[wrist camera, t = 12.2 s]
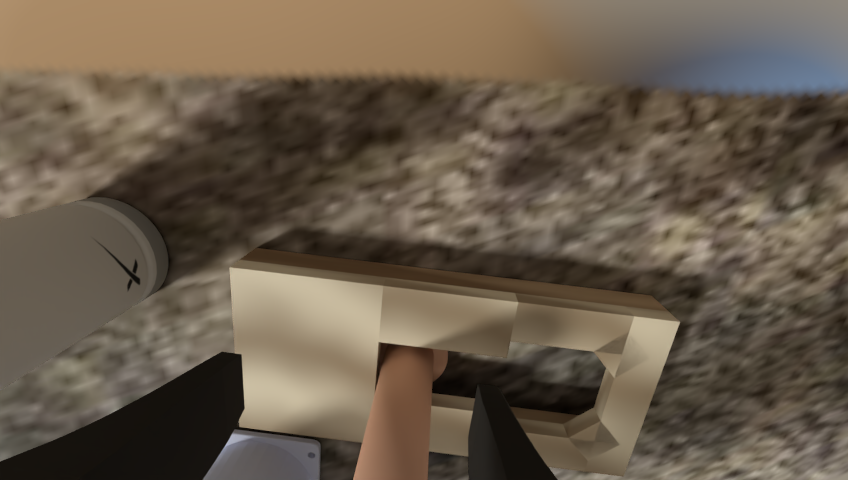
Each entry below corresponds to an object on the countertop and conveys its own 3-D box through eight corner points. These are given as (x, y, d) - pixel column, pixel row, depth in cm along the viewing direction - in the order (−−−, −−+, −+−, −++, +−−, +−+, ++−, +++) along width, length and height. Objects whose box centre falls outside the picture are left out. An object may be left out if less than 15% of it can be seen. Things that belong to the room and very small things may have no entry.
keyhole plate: (604, 436, 25) (623, 476, 22) (261, 393, 25) (239, 426, 22) (651, 295, 21) (680, 321, 19) (256, 247, 22) (229, 267, 19)
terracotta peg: (443, 380, 24) (441, 558, 14) (372, 372, 24) (324, 543, 15) (452, 317, 22) (455, 469, 13) (376, 309, 23) (326, 453, 13)
